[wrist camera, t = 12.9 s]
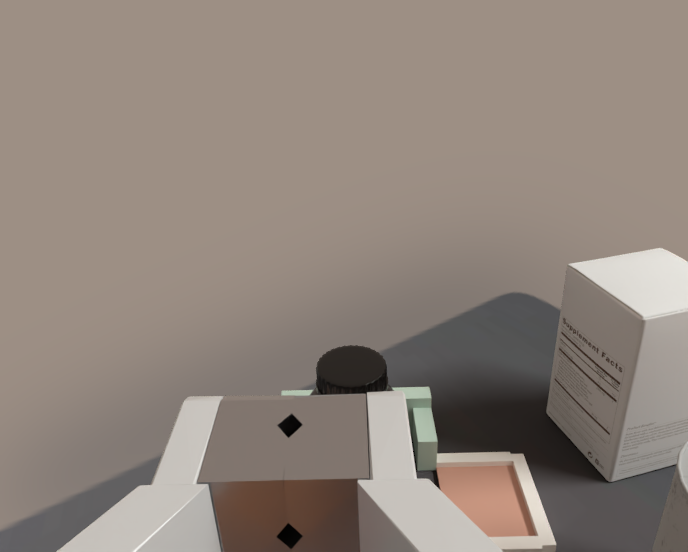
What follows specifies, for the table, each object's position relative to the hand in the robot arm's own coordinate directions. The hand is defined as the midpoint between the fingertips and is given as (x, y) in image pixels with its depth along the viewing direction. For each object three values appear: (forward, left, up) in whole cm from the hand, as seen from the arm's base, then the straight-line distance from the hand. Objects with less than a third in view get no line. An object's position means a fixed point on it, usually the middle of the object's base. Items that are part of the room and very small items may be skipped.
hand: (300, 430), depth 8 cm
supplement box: (+10, +38, -30) cm, 50 cm away
